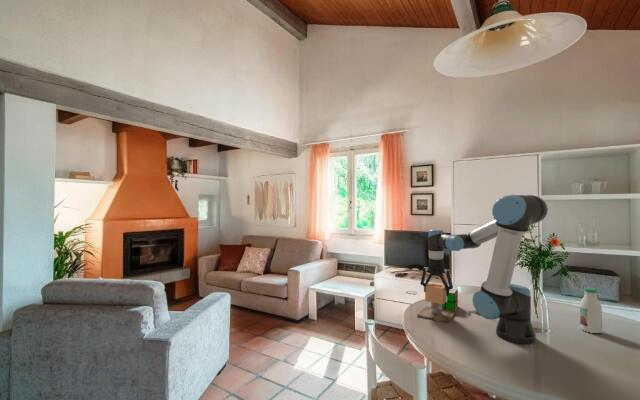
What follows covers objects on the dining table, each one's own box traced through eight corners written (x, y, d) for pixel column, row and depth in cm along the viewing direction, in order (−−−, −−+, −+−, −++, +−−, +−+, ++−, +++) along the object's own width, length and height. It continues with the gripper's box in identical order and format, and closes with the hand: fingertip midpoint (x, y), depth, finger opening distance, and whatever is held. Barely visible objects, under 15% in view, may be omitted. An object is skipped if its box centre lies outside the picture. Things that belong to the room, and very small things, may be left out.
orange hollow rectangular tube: (447, 299, 166) (447, 284, 166) (443, 304, 159) (443, 288, 159) (430, 296, 171) (429, 282, 171) (425, 301, 164) (425, 286, 164)
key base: (455, 313, 167) (455, 300, 167) (449, 323, 154) (449, 309, 154) (425, 308, 176) (425, 295, 176) (417, 316, 163) (417, 303, 163)
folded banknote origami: (496, 313, 168) (495, 289, 168) (500, 320, 158) (500, 294, 159) (466, 310, 173) (465, 286, 173) (468, 316, 163) (468, 291, 164)
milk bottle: (602, 330, 143) (601, 288, 143) (602, 336, 138) (601, 291, 138) (580, 326, 148) (580, 285, 149) (579, 331, 143) (579, 288, 143)
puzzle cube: (458, 306, 178) (457, 289, 179) (455, 311, 170) (455, 293, 170) (439, 303, 184) (439, 286, 184) (436, 308, 175) (436, 291, 175)
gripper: (459, 259, 162) (459, 301, 162) (417, 255, 174) (418, 294, 174) (456, 261, 156) (456, 305, 156) (413, 257, 168) (414, 298, 168)
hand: (436, 300), depth 165 cm, fingers closed on orange hollow rectangular tube, 9 cm apart
